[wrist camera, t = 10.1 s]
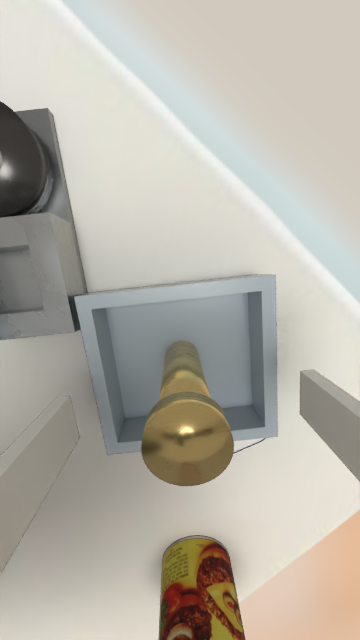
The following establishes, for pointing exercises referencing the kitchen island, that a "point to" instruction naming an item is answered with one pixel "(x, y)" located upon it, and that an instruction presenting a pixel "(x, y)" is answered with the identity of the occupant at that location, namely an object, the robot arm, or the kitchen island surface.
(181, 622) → the canned food
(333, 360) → the kitchen island surface
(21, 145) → the tensioner
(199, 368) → the lock pin
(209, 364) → the tray
